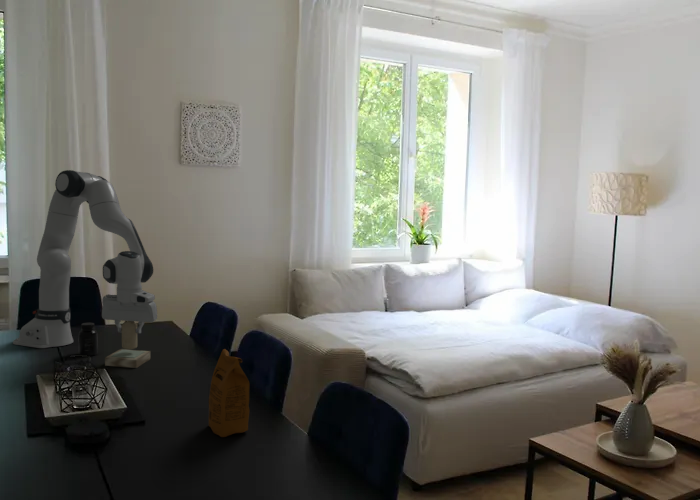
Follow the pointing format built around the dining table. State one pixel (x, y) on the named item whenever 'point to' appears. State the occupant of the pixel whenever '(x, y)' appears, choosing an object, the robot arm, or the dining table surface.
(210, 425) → the coffee package
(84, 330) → the supplement bottle
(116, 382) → the dining table surface
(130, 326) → the candle
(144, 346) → the dining table surface
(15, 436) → the dining table surface
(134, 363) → the plinth
